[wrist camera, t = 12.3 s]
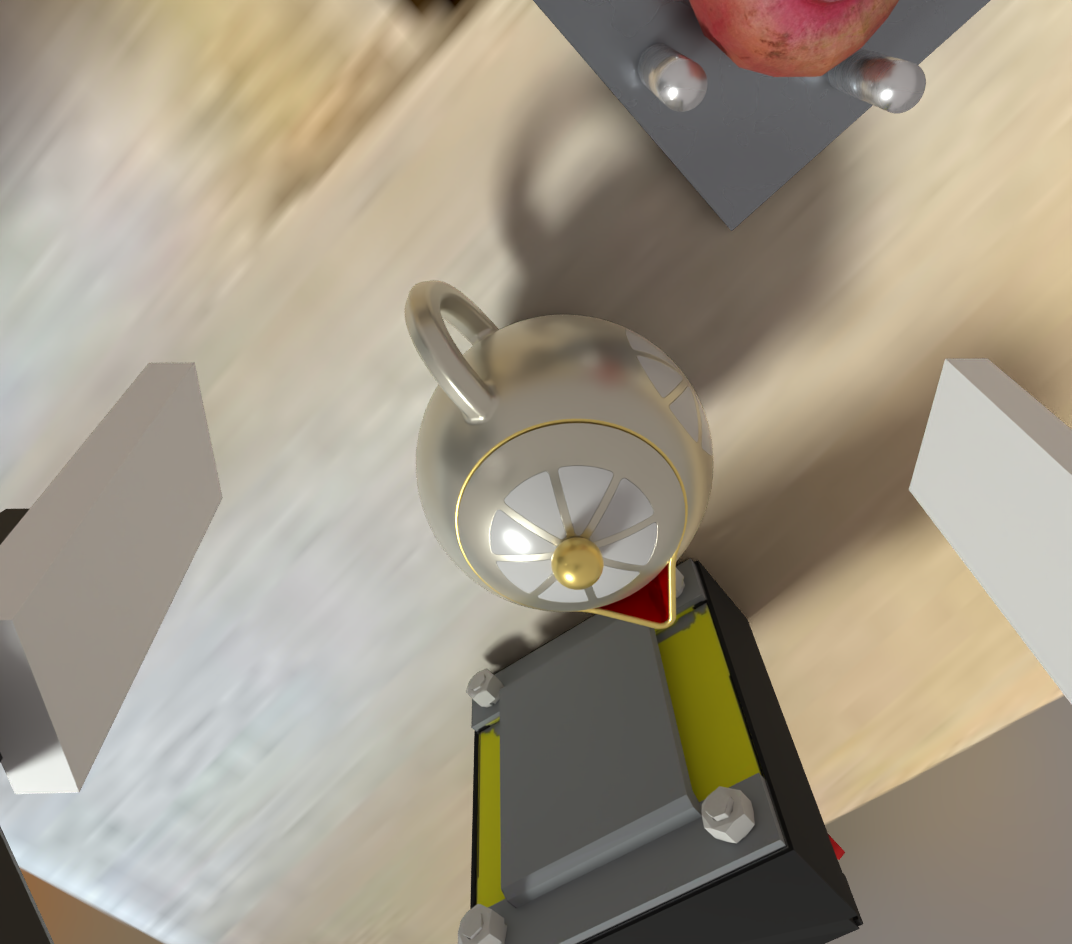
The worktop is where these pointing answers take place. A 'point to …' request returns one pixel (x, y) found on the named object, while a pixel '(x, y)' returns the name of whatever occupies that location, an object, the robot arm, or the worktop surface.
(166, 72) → the worktop surface
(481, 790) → the electrical component
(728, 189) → the grey square pegged plate
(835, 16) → the fruit
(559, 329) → the teapot
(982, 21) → the worktop surface
